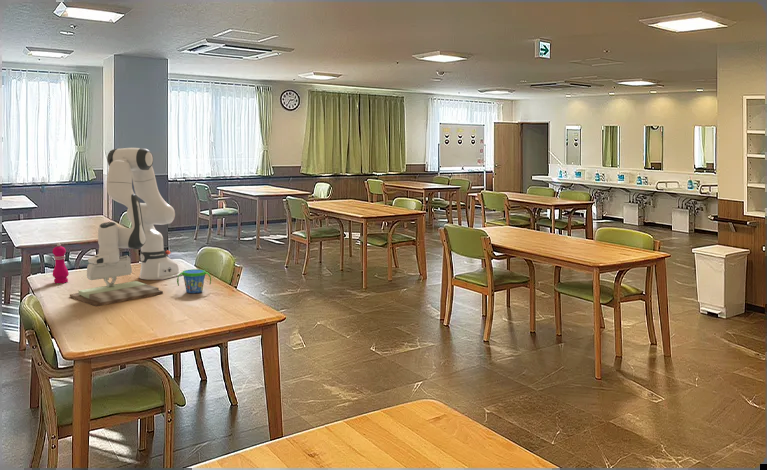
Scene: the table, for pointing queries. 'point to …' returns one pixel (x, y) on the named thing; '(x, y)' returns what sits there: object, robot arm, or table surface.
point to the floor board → (118, 295)
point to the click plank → (109, 288)
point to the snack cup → (194, 280)
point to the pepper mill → (60, 265)
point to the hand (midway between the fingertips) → (110, 286)
